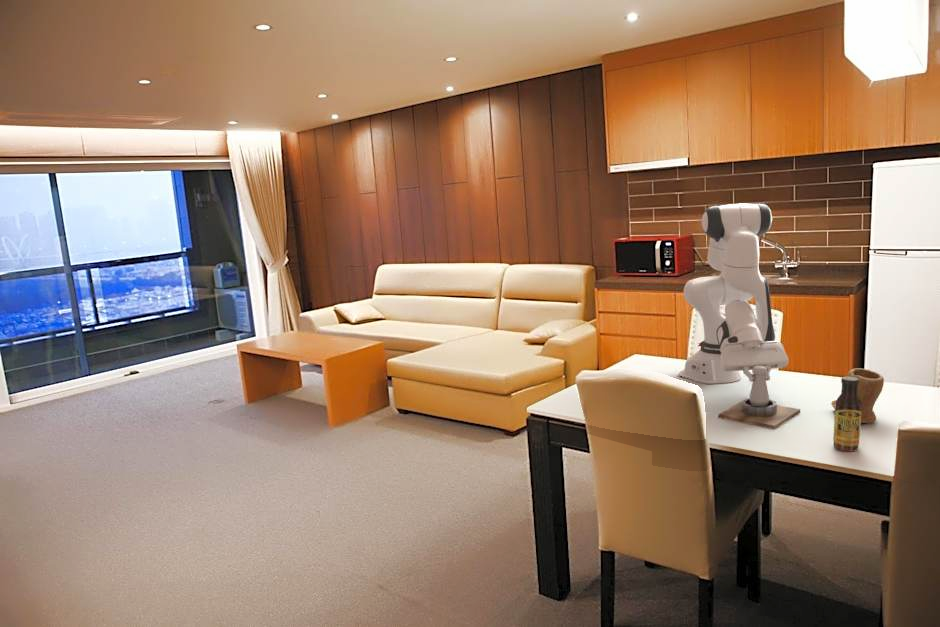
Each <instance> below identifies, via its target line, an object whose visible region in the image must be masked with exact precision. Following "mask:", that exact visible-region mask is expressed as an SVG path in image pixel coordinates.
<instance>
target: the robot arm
mask: <svg viewBox="0 0 940 627" xmlns="http://www.w3.org/2000/svg"><path fill="white" fill-rule="evenodd" d="M772 215H773V214H772V210H771V209H770V207H769V206H768V205H767V204H764V203H734V204H725V205H724V204H723V205H719V206H718V205H713V206H709V207H707V208H706V209H705V210H704V211H703V215H702V218H701V226H702V230H703V232H704V234H705V235H706V236H708V237H709V242H708V250H707V263H708V265H709V266H710V267H711V268H712V269H714V270H715V271H717V272H720V273H719V275H711V276H700V277H697V278H693V279H690V280H687V281H686V282H685V285H684V287H683V298H684V300H685V302H686V303H687V304H688V305H690V307H692V308H694V309H695V310H696V311H697V313H698V314H699V315H700V318H701V319H702V325H703V335H704V337H703V338H704V340H702V341H701V342H699V343H698V344H697V347H698V348H699V347H700V349H699V350H698V351H697V352H696V353H694V354H692V355H691V356H689V357H688V358H687V359H686V362H685V363H684V364H685V366H684V369H682V370H681V371H679V372H678V377H680V376H682V377H681V378H683V377H686V378H685V379H687V378H689V379H688V380H691V379H693V380H692V381H695V380H696V382H700V383H703V384H709V385H711V384H721V383H722V384H723V383H724V384H725V383H733V382H737V381H739V380H741V378H742V376H741V374H740V371H742V373H743V374H744V375H745V376H746V377H747V378H748V379H749V380H748V381H749V382H750V383H751V382H752V383H753V381H755V380H756V377H755V374H753V373H752V372H750V371H752V369H753V367H754V366H765V367H766V368H767V374H765V379H766V382H767V381H770V380H771V376H770V373H771V369H772V370H773V369H783V368H784V369H785V368H786V366H787V365H788V364H789V356H788V355H787V353H786V350H785V348H784V344H783V343H781V342H780V341H777V340H776V334H775V329H774V325H773V323H774V322H773V314H772V304H771V303H772V302H771V293H770V289H769V288H770V287H769V284H768V281H767V279H766V278H765V277H764V276H762V275H761V272H760V268H759V267H760V266H759V264H760V246H759V238H758V236H760V235H765V234H766V233H768V232H769V230H770V229H771V228H772V221H773V216H772ZM753 298H754V302H755V313H756V314H755V313H754V310H753V308H752V306H751V304H750V302H748V301H751V300H752V299H753ZM721 306H724V313H723V312H721V308H720V307H721Z"/></svg>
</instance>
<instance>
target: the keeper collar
mask: <svg viewBox="0 0 940 627" xmlns="http://www.w3.org/2000/svg"><path fill="white" fill-rule="evenodd" d="M749 398H750V397H749ZM749 398H744V399H743V400H742V413H744V414H746V415H748V416H753V417H770V416H774V415H775V414H777V405H778V404H777V401H775V400H773V399H770V398H769V402H768V404H767V406H766V407H755V406H752V404H751V402H750V399H749Z"/></svg>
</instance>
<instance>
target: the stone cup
mask: <svg viewBox="0 0 940 627" xmlns="http://www.w3.org/2000/svg"><path fill="white" fill-rule="evenodd" d="M846 375H847V376H849V377H855V378H858V379H859V384H858V389H857V392H858V394H857V395H858V397H859V399H860V401H861V424H862V423H865V424H867V423H868V424H869V423H874V422H877V415H876V414H875V412H874V410H873V409H874V406H875V404H876V401H877V400H878V399H879V396H880V394H881V393H882V391H883V389H884V383H885V379H884V377H883V376H882V375H881V374H880V373H878V372H877V371H872V370H871V369H866V368H861V367H860V368H852V369H850V370H848V373H847V374H846ZM836 400H837V399H836ZM836 400H833V401H832V402H831V403H830V404H831V406H832V407H833V409H834V411H835V410H836Z"/></svg>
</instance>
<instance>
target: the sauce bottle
mask: <svg viewBox="0 0 940 627" xmlns="http://www.w3.org/2000/svg"><path fill="white" fill-rule="evenodd" d="M840 381H841V391H840V392H841V393H840V394H839V395H838V397H837V399H836V410H835V409H834V419H833V420H834V421H833V435H832V436H833V437H832V438H833V440H832V441H833V447H834V448H835V449H837V450H839V451H842V452H855V451H857V450H858V449H859V445H860V436H861V426H862V423H861V401H860V399H859V397H858V395H857V394H858V392H857V389H858V384H859V379H858V378H855V377H849V376H843V377H841V380H840Z"/></svg>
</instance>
